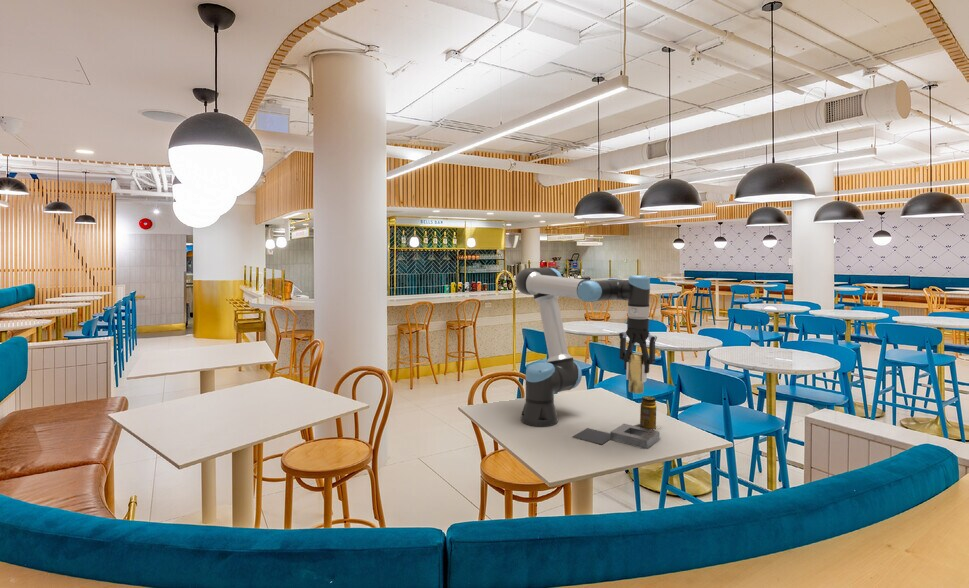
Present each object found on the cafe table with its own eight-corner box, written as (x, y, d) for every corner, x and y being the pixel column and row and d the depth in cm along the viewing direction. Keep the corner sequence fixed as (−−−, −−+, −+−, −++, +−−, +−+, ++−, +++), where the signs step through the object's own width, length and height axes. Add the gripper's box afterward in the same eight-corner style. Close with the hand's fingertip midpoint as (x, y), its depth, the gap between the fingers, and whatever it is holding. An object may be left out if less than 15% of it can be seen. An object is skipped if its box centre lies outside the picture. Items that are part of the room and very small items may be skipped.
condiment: (660, 428, 198) (661, 398, 197) (646, 432, 193) (647, 401, 192) (645, 422, 204) (646, 394, 203) (631, 426, 199) (632, 397, 198)
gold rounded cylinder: (626, 391, 183) (627, 354, 182) (632, 388, 187) (633, 352, 186) (639, 394, 180) (641, 356, 179) (645, 391, 184) (646, 354, 183)
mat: (572, 437, 187) (572, 436, 187) (587, 428, 196) (587, 427, 196) (601, 445, 179) (601, 444, 179) (616, 435, 188) (616, 434, 188)
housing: (610, 439, 185) (610, 431, 184) (623, 431, 194) (623, 423, 194) (647, 449, 176) (647, 440, 175) (659, 439, 185) (659, 431, 185)
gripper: (610, 316, 184) (608, 378, 186) (659, 320, 173) (656, 386, 175) (619, 314, 190) (617, 374, 192) (666, 318, 178) (664, 382, 180)
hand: (636, 380), depth 183 cm, fingers closed on gold rounded cylinder, 5 cm apart
